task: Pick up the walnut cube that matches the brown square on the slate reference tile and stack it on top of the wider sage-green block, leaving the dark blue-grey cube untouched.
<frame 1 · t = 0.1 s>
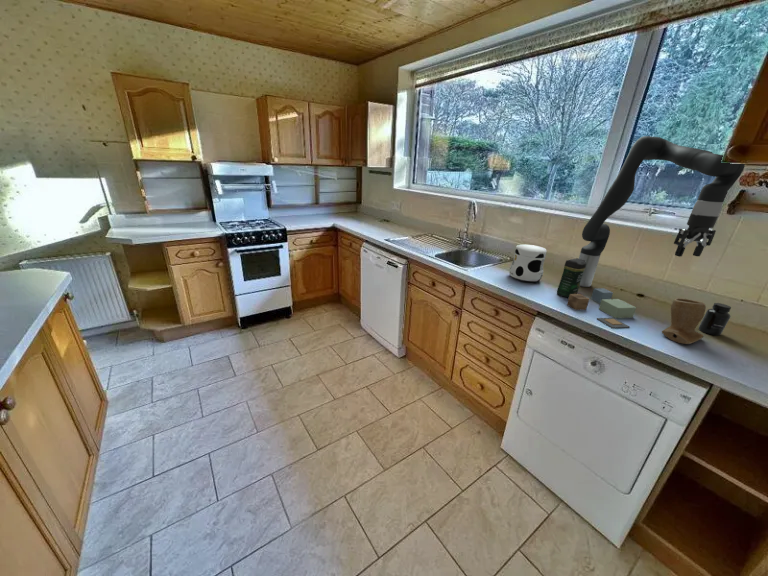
hand: (687, 256, 124), 29 cm above the countertop, tool pointing down, fingers open, 8 cm apart
sage base block: (615, 313, 142), on the countertop
walnut cube: (576, 307, 146), on the countertop
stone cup: (677, 337, 124), on the countertop
coffee jar: (566, 295, 159), on the countertop
reference tile: (612, 323, 132), on the countertop
supplement bottle: (709, 332, 129), on the countertop
blue-grey cube: (599, 301, 154), on the countertop
milk container: (524, 279, 179), on the countertop
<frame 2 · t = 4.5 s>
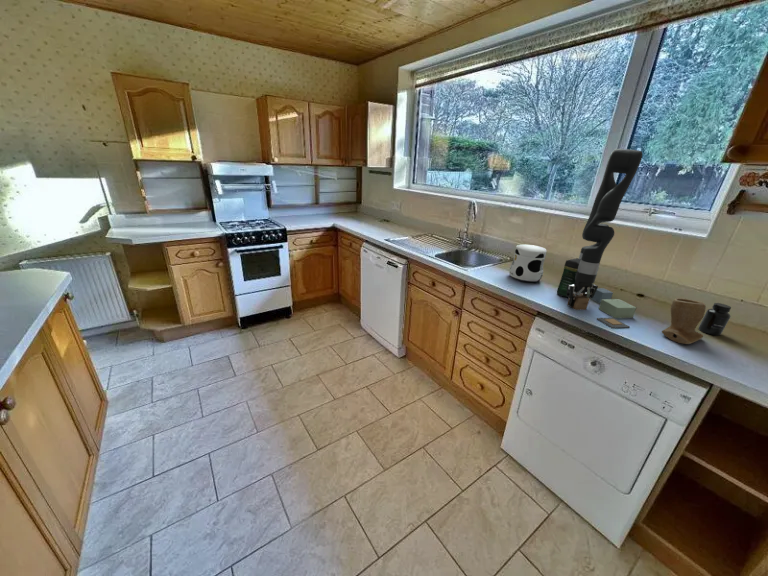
hand: (576, 306, 145), 1 cm above the countertop, tool pointing down, fingers closed on walnut cube, 5 cm apart
walnut cube: (576, 307, 145), on the countertop, touching gripper
everything else where it was.
when the fingers open (7 cm above the countertop, at t = 9.8 s): walnut cube drops 2 cm, resting on sage base block.
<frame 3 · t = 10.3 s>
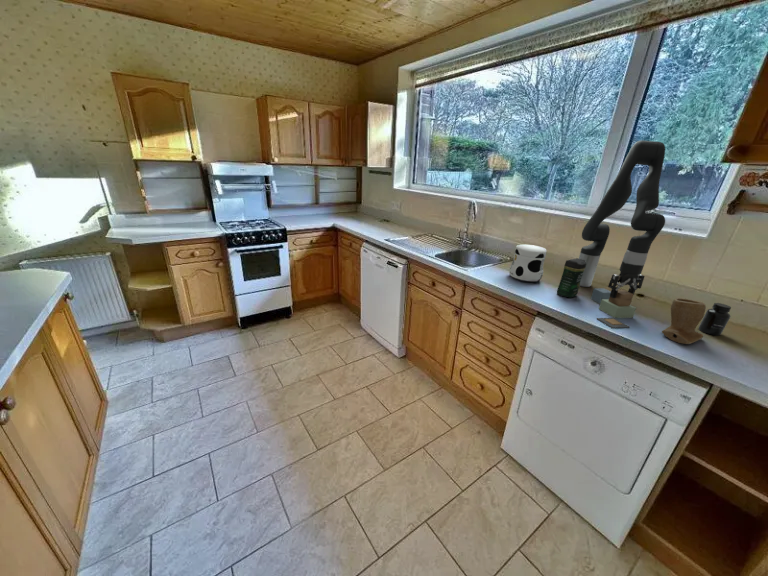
hand: (620, 297, 139), 8 cm above the countertop, tool pointing down, fingers open, 8 cm apart
sage base block: (615, 313, 142), on the countertop, touching walnut cube
walnut cube: (618, 303, 140), point 5 cm above the countertop, touching sage base block
everything else where it was.
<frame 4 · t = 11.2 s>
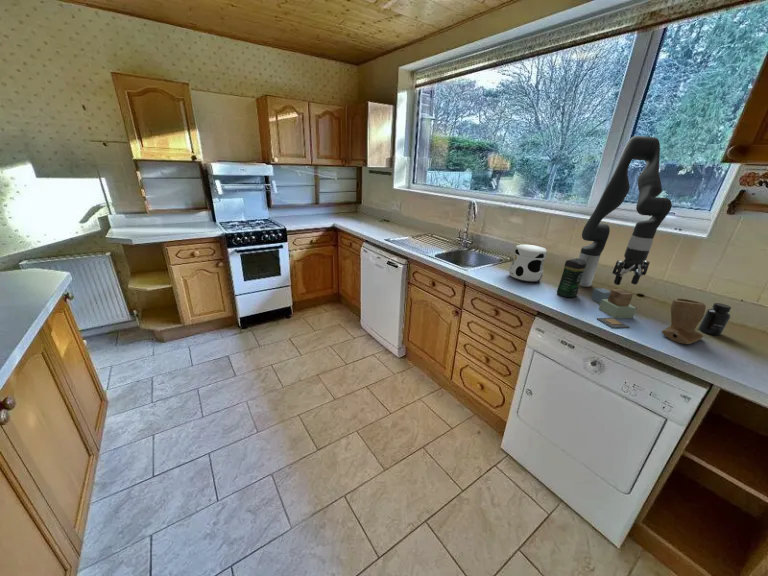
hand: (625, 284, 137), 14 cm above the countertop, tool pointing down, fingers open, 8 cm apart
sage base block: (615, 313, 142), on the countertop
walnut cube: (617, 303, 140), point 5 cm above the countertop
everything else where it was.
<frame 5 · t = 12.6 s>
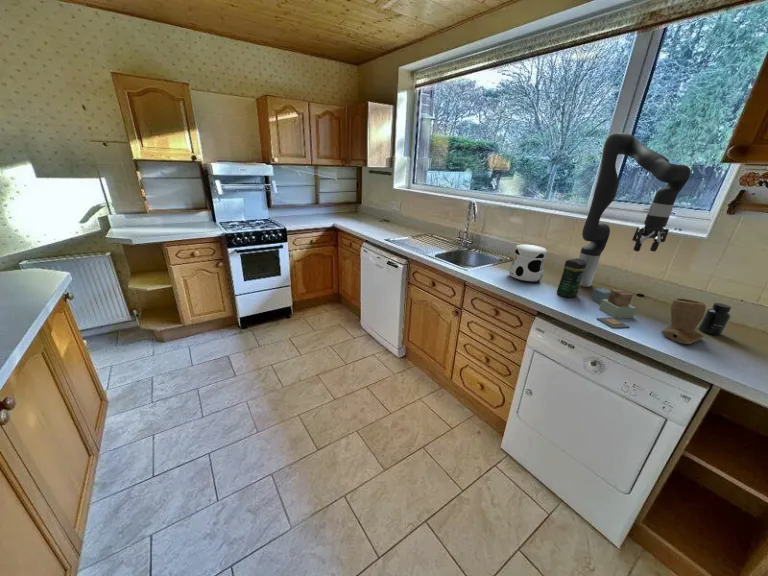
hand: (644, 251, 142), 26 cm above the countertop, tool pointing down, fingers open, 8 cm apart
sage base block: (615, 313, 142), on the countertop, touching walnut cube
walnut cube: (617, 303, 140), point 5 cm above the countertop, touching sage base block
everything else where it was.
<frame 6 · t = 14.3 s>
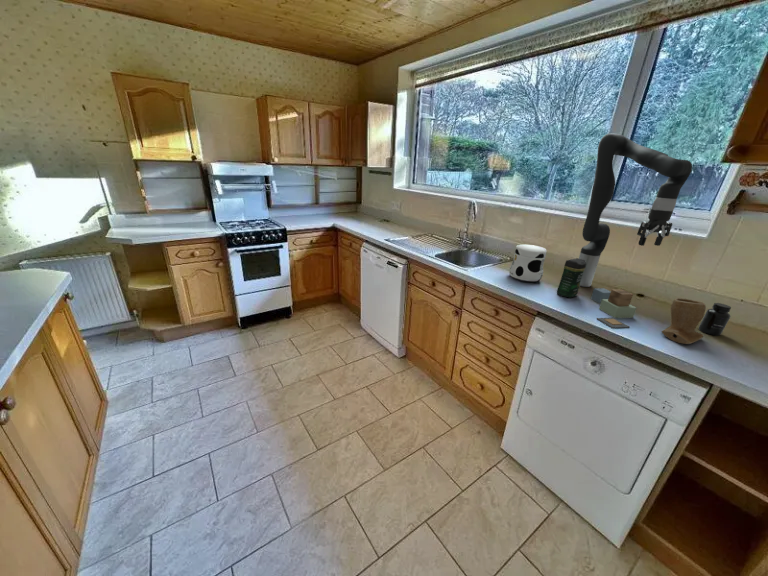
hand: (648, 245, 144), 28 cm above the countertop, tool pointing down, fingers open, 8 cm apart
nothing on the countertop moved.
at the end: walnut cube 0.5 cm off-centre on the sage base block, point 5.0 cm above the sage base block's base; walnut cube tilted 0°; blue-grey cube moved 0.1 cm from its start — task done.
